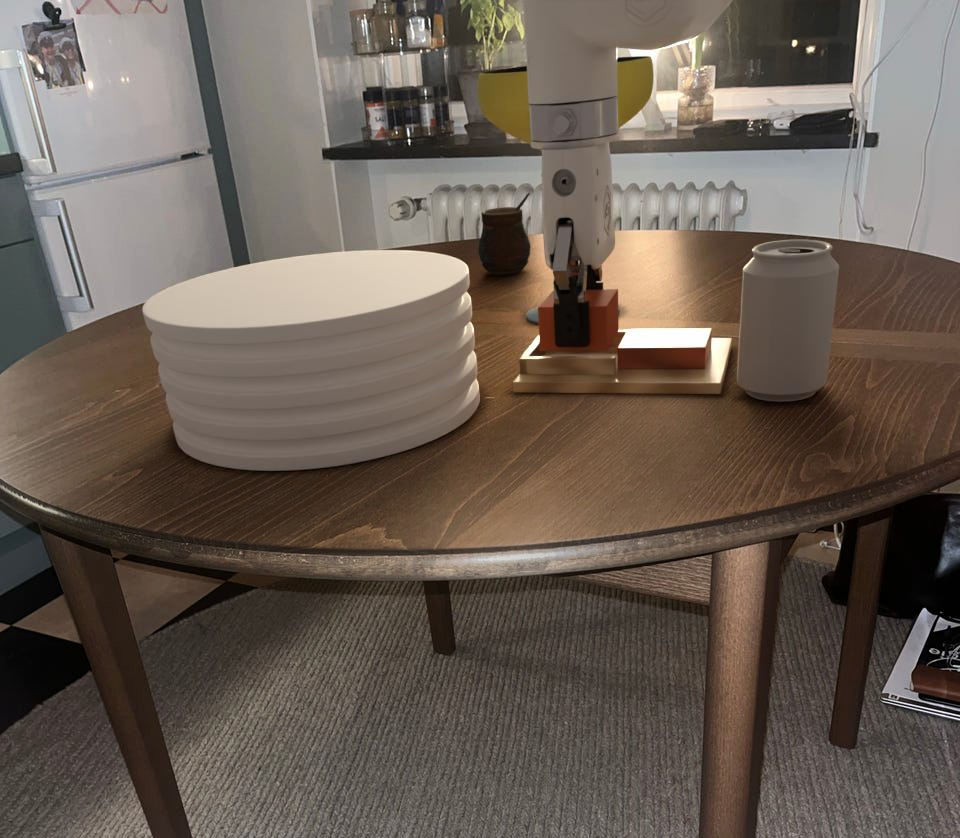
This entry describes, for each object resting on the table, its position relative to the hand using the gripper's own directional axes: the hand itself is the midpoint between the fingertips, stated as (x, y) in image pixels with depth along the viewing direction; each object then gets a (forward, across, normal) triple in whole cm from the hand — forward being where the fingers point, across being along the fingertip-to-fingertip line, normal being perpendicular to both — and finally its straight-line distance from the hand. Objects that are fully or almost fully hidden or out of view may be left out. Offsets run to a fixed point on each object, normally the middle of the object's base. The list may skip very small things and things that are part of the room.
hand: (580, 333), depth 93 cm
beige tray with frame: (+3, 0, -4) cm, 6 cm away
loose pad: (+1, 0, 0) cm, 1 cm away
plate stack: (+4, -13, +21) cm, 25 cm away
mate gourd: (+4, +44, +19) cm, 48 cm away
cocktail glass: (+4, +21, +5) cm, 22 cm away
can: (+4, -6, -19) cm, 20 cm away
